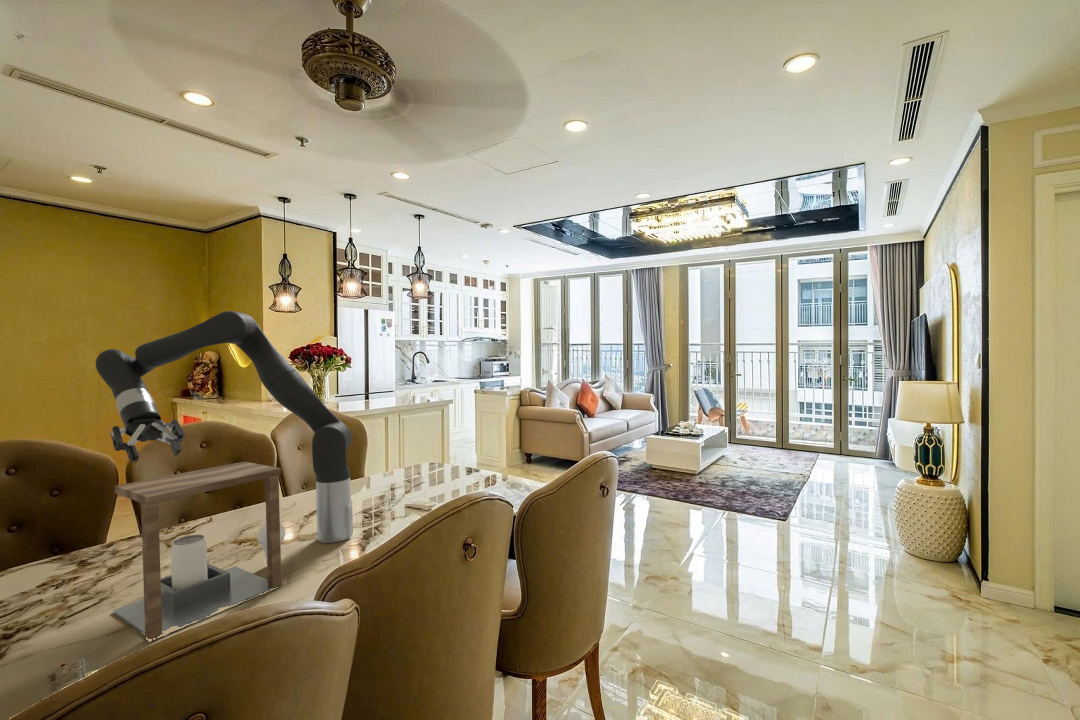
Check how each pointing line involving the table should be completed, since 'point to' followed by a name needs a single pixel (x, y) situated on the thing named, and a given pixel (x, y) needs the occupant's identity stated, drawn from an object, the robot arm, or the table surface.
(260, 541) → the lightbulb
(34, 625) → the table surface
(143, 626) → the socket
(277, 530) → the wooden arch stand
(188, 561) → the can
